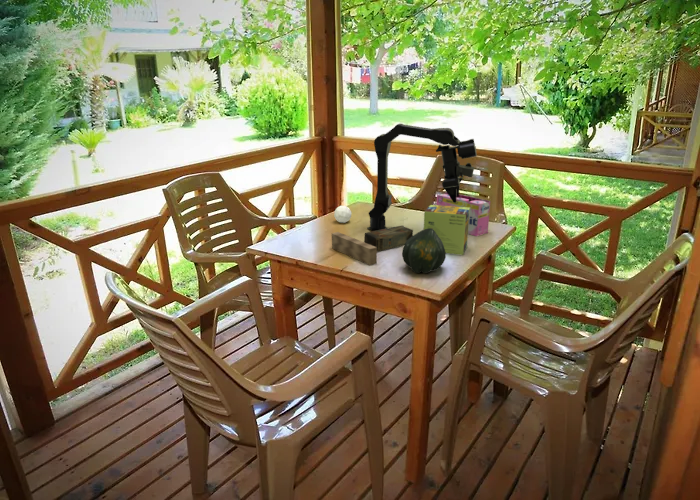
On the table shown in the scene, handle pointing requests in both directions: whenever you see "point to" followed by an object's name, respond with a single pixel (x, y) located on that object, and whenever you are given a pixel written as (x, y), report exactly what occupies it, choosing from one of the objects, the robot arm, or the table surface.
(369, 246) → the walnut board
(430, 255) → the squash
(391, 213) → the table surface
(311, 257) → the table surface
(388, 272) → the table surface
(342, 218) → the ball
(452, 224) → the protein box
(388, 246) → the printed cardboard box
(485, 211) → the gum box
